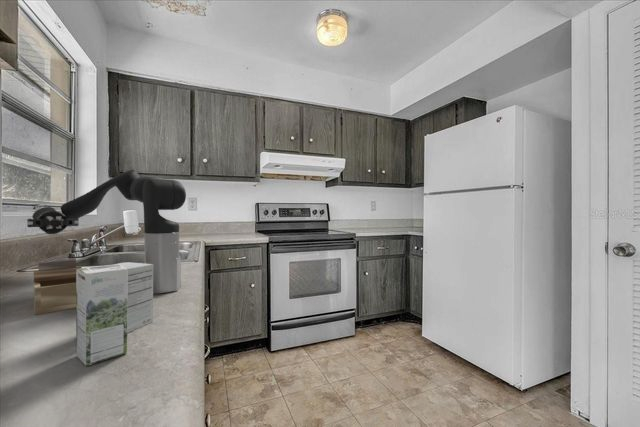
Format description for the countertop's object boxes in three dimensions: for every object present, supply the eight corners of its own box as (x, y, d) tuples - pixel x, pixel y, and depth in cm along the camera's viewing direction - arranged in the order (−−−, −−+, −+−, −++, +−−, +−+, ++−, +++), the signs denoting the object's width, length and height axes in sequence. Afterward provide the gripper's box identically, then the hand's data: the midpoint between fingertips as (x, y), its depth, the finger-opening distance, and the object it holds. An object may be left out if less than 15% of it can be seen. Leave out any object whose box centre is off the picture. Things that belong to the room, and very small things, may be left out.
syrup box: (116, 344, 53) (116, 262, 53) (128, 354, 49) (128, 266, 49) (75, 356, 49) (75, 267, 48) (85, 368, 45) (85, 272, 45)
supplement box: (94, 331, 59) (93, 267, 59) (128, 318, 66) (127, 261, 66) (122, 335, 57) (122, 269, 56) (154, 321, 64) (154, 263, 64)
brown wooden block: (33, 273, 82) (33, 263, 82) (79, 268, 89) (79, 258, 89) (34, 282, 72) (34, 270, 72) (86, 276, 79) (86, 264, 79)
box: (34, 303, 76) (33, 279, 76) (83, 295, 83) (83, 274, 83) (34, 314, 68) (34, 288, 68) (90, 305, 75) (89, 281, 75)
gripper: (77, 231, 107) (83, 234, 94) (25, 233, 97) (25, 237, 85) (77, 210, 106) (83, 210, 94) (25, 210, 97) (24, 210, 85)
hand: (55, 223), depth 90 cm, fingers closed
